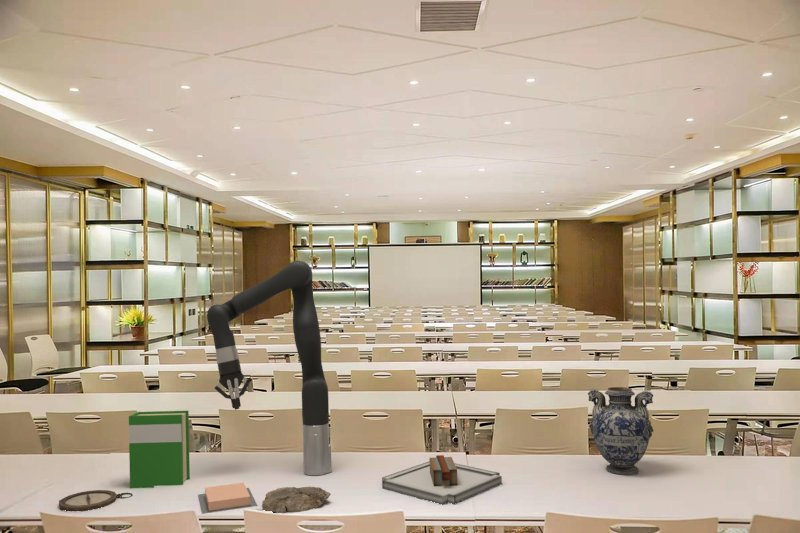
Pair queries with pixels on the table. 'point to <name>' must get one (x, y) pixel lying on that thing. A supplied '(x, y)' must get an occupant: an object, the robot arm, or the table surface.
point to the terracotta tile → (227, 496)
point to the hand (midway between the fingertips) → (237, 409)
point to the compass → (89, 500)
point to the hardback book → (159, 448)
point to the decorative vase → (621, 428)
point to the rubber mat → (205, 509)
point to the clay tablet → (294, 499)
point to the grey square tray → (441, 481)
